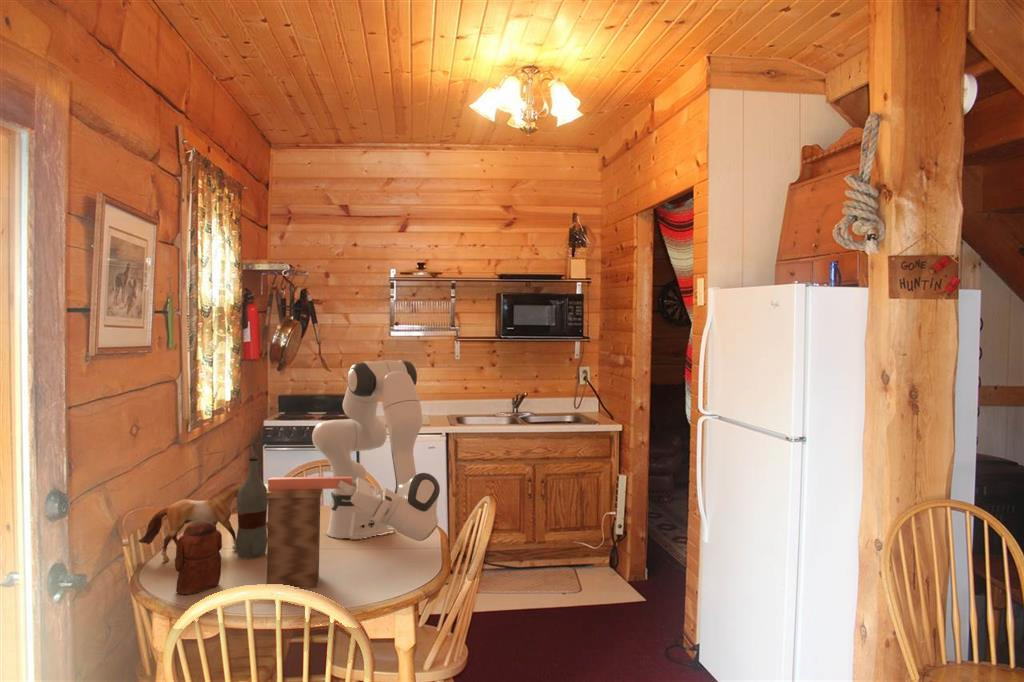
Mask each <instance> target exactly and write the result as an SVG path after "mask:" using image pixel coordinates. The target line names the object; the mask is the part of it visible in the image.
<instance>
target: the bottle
mask: <svg viewBox="0 0 1024 682" xmlns="http://www.w3.org/2000/svg"><path fill="white" fill-rule="evenodd" d="M258 458H259V457H258V456H253V455H252V456H249V457H248V475H247V477H246V478H245V479H244V481H243V482H242V483H243V484H242V483H241V484H242V486H241V487H240V489H239V492H238V496H237V498H236V508H237V510H236V512H237V526H238V527H237V533H236V550H237V551H236V553H237V555H236V556H237V557H238V558H239V557H240V559H243V558H247V559H246V560H249V559H250V560H251V558H252V560H253V559H258V558H262V557H263V556H265V555H266V553H267V537H268V530H267V523H266V515H267V506H268V498H266V492H267V489H266V487H265V485H264V484H265V483H264V482H263V481H262V479H261V477H260V476H259V475H258V466H259V465H258V463H259V462H258V460H259V459H258Z"/></svg>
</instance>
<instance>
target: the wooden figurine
mask: <svg viewBox="0 0 1024 682" xmlns="http://www.w3.org/2000/svg"><path fill="white" fill-rule="evenodd" d="M222 538H223V535H222V532H221V531H220V530H218V529H217V525H216V526H215V525H214V524H213V523H211V522H209V521H205V520H200V521H196V522H190V524H189V525H187V526H186V527H185V529H184V531H183V532H182V536H180V537H179V538H177V540H178V541H177V547H176V549H175V559H174V567H175V571H176V572H178V574H177V579H176V587H175V588H176V589H175V593H176V592H177V593H176V594H178V593H179V595H183V594H186V595H191V594H192V593H193V594H196V592H197V593H199V591H200V592H202V591H204V590H207V589H210V588H213V587H217V586H218V585H219V583H220V579H221V573H222V556H221V552H220V551H221V550H222V548H223V539H222ZM193 594H192V595H193Z"/></svg>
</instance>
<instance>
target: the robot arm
mask: <svg viewBox="0 0 1024 682" xmlns="http://www.w3.org/2000/svg"><path fill="white" fill-rule="evenodd" d="M346 380H347V381H346V382H347V387H346V391H345V394H344V398H343V400H342V410H343V411H344V414H345V415H346V416H347V417H348V418H349V419H331V420H326V421H322V422H319V423H317V424H316V426H314V428H313V431H312V434H311V441H312V444H313V447H314V448H315V449H316V450H317V451H318V452H320V453H321V454H322V455H323V456H324V457H325V458H326V459H327V461H328V463H329V465H330V468H331V477H345V476H352V484H351V485H349V484H347V483H346V482H345V481H343V480H340V482H339V484H338V487H340V488H342V489H332V491H331V492H330V493H331V495H330V509H331V510H330V512H331V513H330V517H329V518H330V519H329V523H328V524H329V525H328V528H327V531H326V535H327V536H329V537H330V538H334V537H335V539H343V538H350V539H349V540H352V539H360V540H362V539H361V538H364V537H370V536H374V535H378V534H382V533H385V532H390V531H393V529H394V531H395V532H398V533H399V534H400V535H404V537H407V538H410V539H412V540H415V541H418V542H422V541H425V540H427V539H428V538H429V537H430V536H431V535H432V534H433V533H434V532H435V530H436V528H437V526H438V523H439V519H438V515H437V507H438V499H439V496H440V492H441V489H440V484H439V481H438V479H437V478H436V477H435V476H434V475H432V474H431V473H427V472H421V473H420V472H419V473H417V469H416V464H415V463H416V462H415V458H414V448H415V443H416V440H417V437H418V435H419V433H420V430H421V428H422V427H423V409H422V405H421V402H420V397H419V393H418V390H417V388H416V385H417V380H418V373H417V370H416V368H415V366H414V364H413V363H412V362H411V361H407V360H404V359H403V360H401V359H399V360H388V359H387V360H386V359H385V360H384V359H383V360H377V361H371V360H366V361H365V360H364V361H362V362H357V363H355V364H353V365H352V366H350V367H349V370H348V372H347V377H346ZM380 398H381V402H382V403H381V405H382V409H383V414H384V418H385V422H386V424H385V423H384V422H383V421H382V420H381V419H379V418H378V417H377V408H378V405H379V401H380ZM388 437H389V438H388ZM387 439H389V443H390V449H391V457H392V465H393V471H394V478H395V490H394V491H392V490H390V488H389V489H388V488H385V487H384V489H382V490H380V489H379V488H378V487H376V486H375V485H373V484H371V483H370V482H368V481H367V472H366V468H365V467H364V466H363V465H362V464H361V463H360V462H358V461H355V460H353V459H352V458H351V457H352V456H351V452H352V453H353V452H363V451H372V450H375V449H379V448H381V447H383V446H384V445H385V443H386V441H387ZM388 528H393V529H388ZM370 538H371V537H370Z"/></svg>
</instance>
